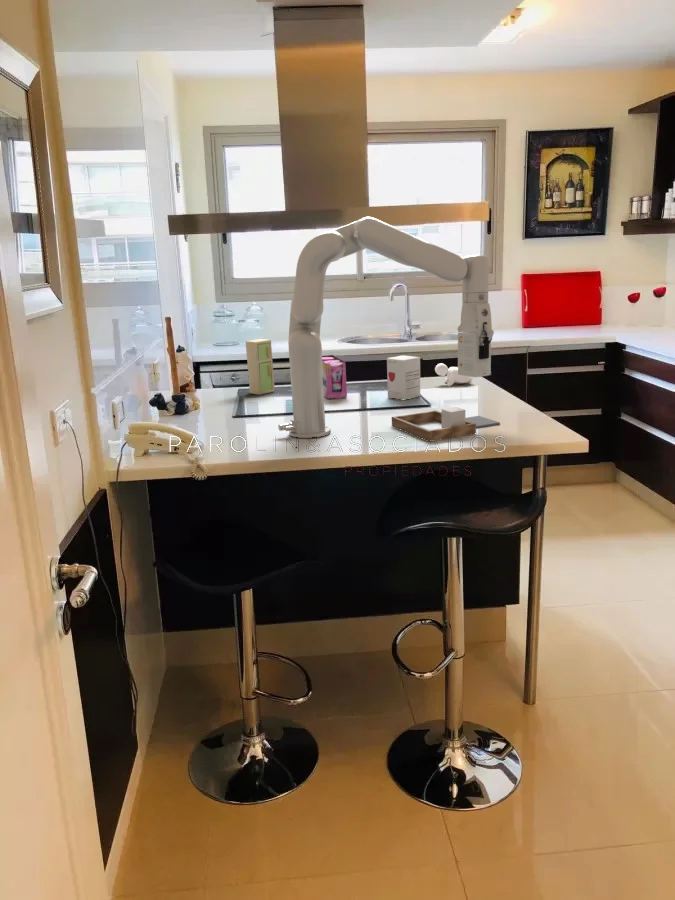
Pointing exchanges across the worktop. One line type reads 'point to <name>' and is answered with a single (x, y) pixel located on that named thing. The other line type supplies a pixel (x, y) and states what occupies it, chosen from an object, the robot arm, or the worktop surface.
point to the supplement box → (403, 377)
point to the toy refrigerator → (260, 366)
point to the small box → (472, 356)
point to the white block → (453, 417)
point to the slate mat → (482, 421)
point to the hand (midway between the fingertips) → (474, 356)
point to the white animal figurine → (451, 375)
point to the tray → (407, 425)
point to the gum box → (334, 377)
